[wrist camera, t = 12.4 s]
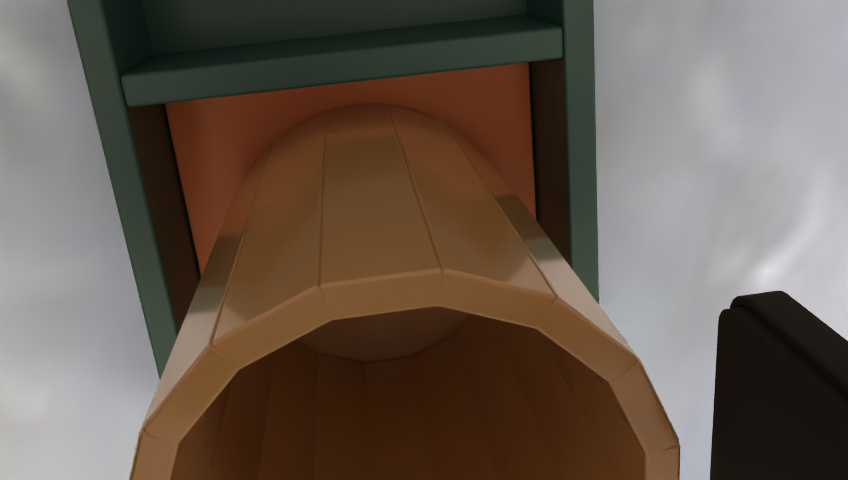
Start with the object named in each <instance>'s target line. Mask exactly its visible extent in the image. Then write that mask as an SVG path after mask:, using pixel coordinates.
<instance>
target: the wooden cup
mask: <svg viewBox="0 0 848 480" xmlns="http://www.w3.org/2000/svg"><path fill="white" fill-rule="evenodd" d="M679 475H680V444H679V438H678V436H677V434H676V432H675V430H674V428H673V426H672V424H671V422H670V420H669V418H668V416H667V413H666V411H665V409H664V407H663V405H662V403H661V401H660V399H659V397H658V395H657V393H656V391H655V389H654V387H653V385H652V383H651V381H650V379H649V377H648V375H647V372H646V370H645V368H644V366H643V364H642V362H641V361H640V359H639V358H638V357H637V355H636V354H635V353H634V351H633V350H632V349H631V347H630V346H629V345H628V343H627V342H626V341H625V339H624V338H623V337H622V335H621V334H620V333H619V331H618V330H617V329H616V327H615V326H614V325H613V323H612V322H611V321H610V319H609V318H608V317H607V315H606V314H605V313H604V311H603V310H602V308H601V307H600V306H599V304H598V303H597V302H596V300H595V299H594V298H593V296H592V295H591V294H590V292H589V291H588V290H587V288H586V287H585V286H584V284H583V283H582V282H581V280H580V279H579V278H578V276H577V275H576V274H575V272H574V271H573V270H572V268H571V267H570V266H569V264H568V263H567V262H566V260H565V259H564V258H563V256H562V255H561V254H560V252H559V251H558V249H557V248H556V247H555V245H554V244H553V243H552V241H551V240H550V239H549V237H548V236H547V235H546V233H545V232H544V231H543V229H542V228H541V227H540V225H539V224H538V223H537V221H536V220H535V219H534V217H533V216H532V215H531V213H530V212H529V211H528V209H527V208H526V207H525V205H524V204H523V203H522V201H521V200H520V199H519V197H518V196H517V195H516V193H515V192H514V190H513V189H512V188H511V186H510V185H509V184H508V182H507V181H506V180H505V178H504V177H503V176H502V174H501V173H500V172H499V170H498V169H497V168H496V166H495V165H494V164H493V162H492V161H491V160H490V159H489V157H488V156H487V155H486V154H485V153H483V152H482V151H481V150H480V149H478V147H477V146H476V145H474V144H473V143H472V142H471V141H470V140H469V139H468V138H467V137H466V136H465V135H464V134H462V133H461V132H459V131H458V130H457V129H455V128H454V127H452V126H451V125H449V124H448V123H446V122H444V121H442V120H440V119H438V118H436V117H434V116H432V115H430V114H427V113H425V112H422V111H419V110H416V109H413V108H409V107H404V106H399V105H395V104H383V103H362V104H352V105H346V106H341V107H336V108H333V109H329V110H326V111H323V112H320V113H317V114H315V115H313V116H311V117H309V118H307V119H304V120H302V121H300V122H298V123H297V124H295V125H294V126H292V127H291V128H289V129H288V130H286V131H285V132H283V133H282V134H281V135H280V136H278V137H277V138H276V139H275V140H274V141H273V142H272V143H270V144H269V145H268V146H267V147H266V149H265V150H264V151H263V152H262V153H261V154H260V155H259V156H258V158H257V159H256V160H255V162H254V163H253V165H252V166H251V168H250V169H249V171H248V172H247V174H246V175H245V177H244V179H243V180H242V181H241V182H240V184H239V185H238V187H237V189H236V191H235V193H234V196H233V198H232V201H231V204H230V206H229V209H228V211H227V214H226V216H225V219H224V221H223V224H222V226H221V229H220V231H219V234H218V236H217V239H216V241H215V244H214V246H213V249H212V251H211V254H210V256H209V259H208V261H207V264H206V266H205V269H204V271H203V274H202V276H201V279H200V281H199V284H198V286H197V289H196V291H195V294H194V296H193V299H192V301H191V304H190V306H189V309H188V311H187V314H186V316H185V319H184V321H183V324H182V327H181V329H180V332H179V334H178V337H177V339H176V342H175V344H174V347H173V349H172V352H171V354H170V357H169V359H168V362H167V364H166V367H165V369H164V372H163V374H162V377H161V379H160V382H159V384H158V387H157V389H156V392H155V394H154V397H153V399H152V402H151V404H150V407H149V409H148V412H147V414H146V417H145V419H144V422H143V424H142V427H141V429H140V432H139V436H138V440H137V445H136V449H135V454H134V459H133V463H132V468H131V472H130V477H129V480H679Z"/></svg>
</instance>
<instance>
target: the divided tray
mask: <svg viewBox="0 0 848 480" xmlns="http://www.w3.org/2000/svg"><path fill="white" fill-rule="evenodd" d="M67 4H68V8H69V12H70V16H71V20H72V24H73V28H74V33H75V37H76V41H77V45H78V49H79V53H80V57H81V61H82V65H83V69H84V73H85V77H86V81H87V85H88V89H89V94H90V98H91V102H92V106H93V110H94V114H95V118H96V122H97V126H98V130H99V134H100V138H101V142H102V146H103V151H104V155H105V159H106V163H107V167H108V171H109V175H110V179H111V183H112V187H113V191H114V195H115V199H116V203H117V208H118V212H119V216H120V220H121V224H122V228H123V232H124V236H125V240H126V244H127V248H128V252H129V256H130V260H131V264H132V269H133V273H134V277H135V281H136V285H137V289H138V293H139V297H140V301H141V305H142V309H143V313H144V317H145V321H146V326H147V330H148V334H149V338H150V342H151V346H152V350H153V354H154V358H155V362H156V366H157V370H158V374H159V378H160V379H161V377H162V374H163V372H164V369H165V367H166V364H167V362H168V359H169V357H170V354H171V352H172V349H173V347H174V344H175V342H176V339H177V337H178V334H179V332H180V329H181V327H182V324H183V321H184V319H185V316H186V314H187V311H188V309H189V306H190V304H191V301H192V299H193V296H194V294H195V291H196V289H197V286H198V284H199V281H200V279H201V276H202V274H203V271H204V269H205V266H206V264H207V261H208V259H209V256H210V254H211V251H212V249H213V246H214V244H215V241H216V239H217V236H218V234H219V231H220V229H221V226H222V224H223V221H224V219H225V216H226V214H227V211H228V209H229V206H230V204H231V201H232V198H233V196H234V193H235V191H236V189H237V187H238V185H239V184H240V182H241V181H242V180H243V179H244V177H245V175H246V174H247V172H248V171H249V169H250V168H251V166H252V165H253V163H254V162H255V160H256V159H257V158H258V156H259V155H260V154H261V153H262V152H263V151H264V150H265V149H266V147H267V146H268V145H269V144H270V143H272V142H273V141H274V140H275V139H276V138H277V137H278V136H280V135H281V134H282V133H283V132H285V131H286V130H288V129H289V128H291V127H292V126H294V125H295V124H297V123H298V122H300V121H302V120H304V119H307V118H309V117H311V116H313V115H315V114H317V113H320V112H323V111H326V110H329V109H333V108H336V107H341V106H346V105H352V104H362V103H383V104H395V105H399V106H404V107H409V108H413V109H416V110H419V111H422V112H425V113H427V114H430V115H432V116H434V117H436V118H438V119H440V120H442V121H444V122H446V123H448V124H449V125H451V126H452V127H454V128H455V129H457V130H458V131H459V132H461V133H462V134H464V135H465V136H466V137H467V138H468V139H469V140H470V141H471V142H472V143H473V144H474V145H476V146H477V147H478V149H480V150H481V151H482V152H483V153H485V154H486V155H487V156H488V157H489V159H490V160H491V161H492V162H493V164H494V165H495V166H496V168H497V169H498V170H499V172H500V173H501V174H502V176H503V177H504V178H505V180H506V181H507V182H508V184H509V185H510V186H511V188H512V189H513V190H514V192H515V193H516V195H517V196H518V197H519V199H520V200H521V201H522V203H523V204H524V205H525V207H526V208H527V209H528V211H529V212H530V213H531V215H532V216H533V217H534V219H535V220H536V221H537V223H538V224H539V225H540V227H541V228H542V229H543V231H544V232H545V233H546V235H547V236H548V237H549V239H550V240H551V241H552V243H553V244H554V245H555V247H556V248H557V249H558V251H559V252H560V254H561V255H562V256H563V258H564V259H565V260H566V262H567V263H568V264H569V266H570V267H571V268H572V270H573V271H574V272H575V274H576V275H577V276H578V278H579V279H580V280H581V282H582V283H583V284H584V286H585V287H586V288H587V290H588V291H589V292H590V294H591V295H592V296H593V298H594V299H595V300H596V302H597V303H598V304H599V285H598V230H597V176H596V121H595V67H594V12H593V0H67Z"/></svg>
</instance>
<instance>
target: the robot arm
mask: <svg viewBox="0 0 848 480" xmlns="http://www.w3.org/2000/svg"><path fill="white" fill-rule="evenodd" d="M710 480H848V341H847V340H845V339H844V338H843V337H842V336H840V335H839V334H838V333H837V332H835V331H834V330H833V329H831V328H830V327H829V326H828V325H826V324H825V323H824V322H822V321H821V320H820V319H819V318H817V317H816V316H815V315H813V314H812V313H811V312H810V311H808V310H807V309H806V308H805V307H803V306H802V305H801V304H799V303H798V302H797V301H796V300H794V299H793V298H792V297H790V296H789V295H788V294H787V293H785V292H783V291H772V292H765V293H758V294H751V295H744V296H737V297H736V298H735V299H733V301H732V303H731V306H730V309H724V310H723V311H722V312H721V314H720V316H719V322H718V339H717V358H716V376H715V395H714V413H713V432H712V450H711V469H710Z"/></svg>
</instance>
